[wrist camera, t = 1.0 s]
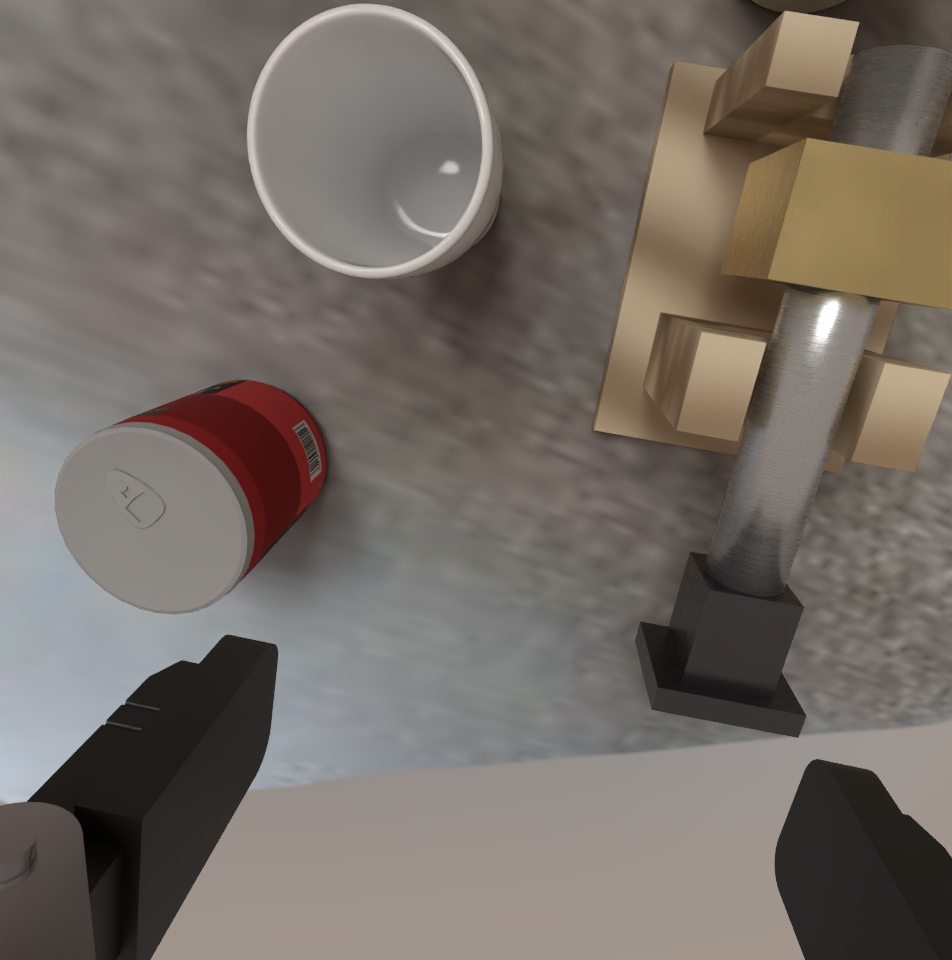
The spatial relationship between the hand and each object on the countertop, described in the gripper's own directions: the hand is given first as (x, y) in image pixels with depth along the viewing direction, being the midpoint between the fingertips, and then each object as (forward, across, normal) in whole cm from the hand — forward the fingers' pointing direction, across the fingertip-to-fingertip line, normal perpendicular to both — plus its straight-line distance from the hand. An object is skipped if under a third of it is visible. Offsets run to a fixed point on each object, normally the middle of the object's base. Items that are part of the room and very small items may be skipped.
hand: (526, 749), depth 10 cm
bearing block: (+26, -9, -8) cm, 28 cm away
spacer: (+17, -9, -10) cm, 22 cm away
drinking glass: (+26, +6, -9) cm, 28 cm away
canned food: (+26, +14, +5) cm, 30 cm away
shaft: (+19, -9, -3) cm, 22 cm away
